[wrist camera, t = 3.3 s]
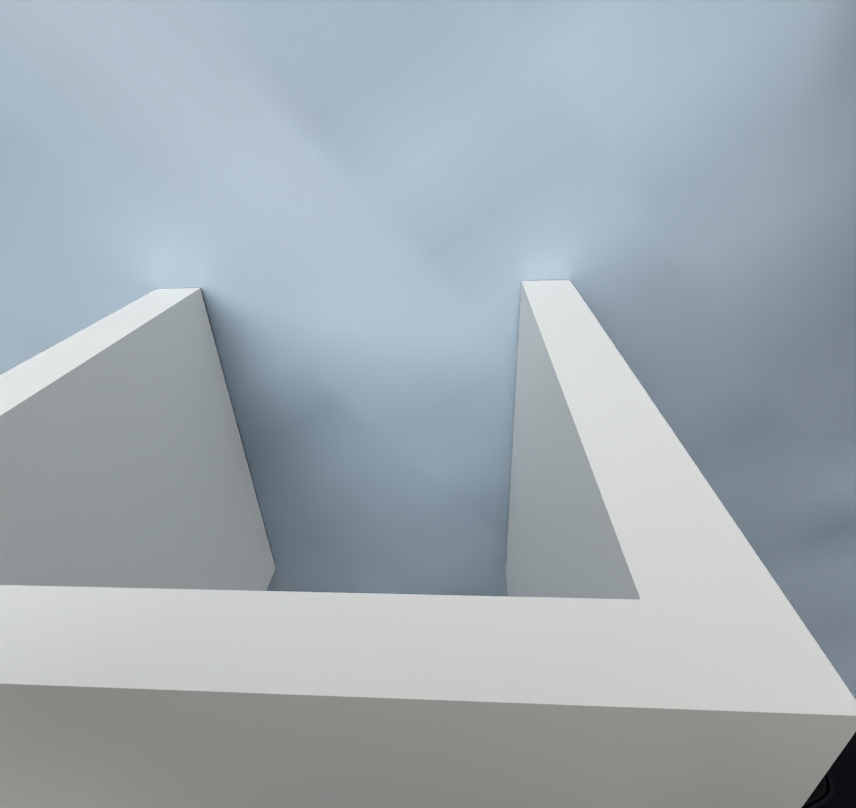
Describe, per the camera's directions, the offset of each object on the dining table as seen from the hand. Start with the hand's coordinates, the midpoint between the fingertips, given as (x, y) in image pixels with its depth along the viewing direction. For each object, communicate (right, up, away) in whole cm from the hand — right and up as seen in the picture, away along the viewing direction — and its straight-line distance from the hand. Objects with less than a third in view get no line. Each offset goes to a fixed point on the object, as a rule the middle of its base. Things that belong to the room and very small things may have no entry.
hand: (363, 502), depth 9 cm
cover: (0, +1, +1) cm, 2 cm away
